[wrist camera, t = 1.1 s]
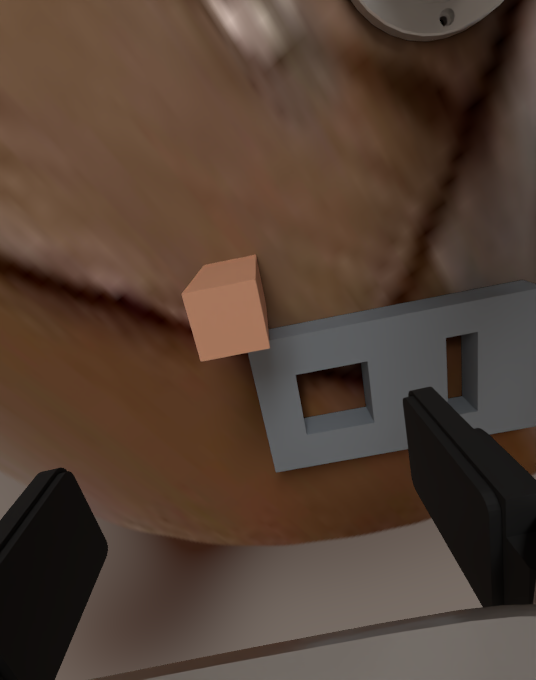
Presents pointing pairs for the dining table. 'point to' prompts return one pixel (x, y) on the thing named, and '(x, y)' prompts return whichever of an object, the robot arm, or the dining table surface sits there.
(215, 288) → the square peg
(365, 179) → the dining table surface
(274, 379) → the socket board
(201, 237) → the dining table surface
